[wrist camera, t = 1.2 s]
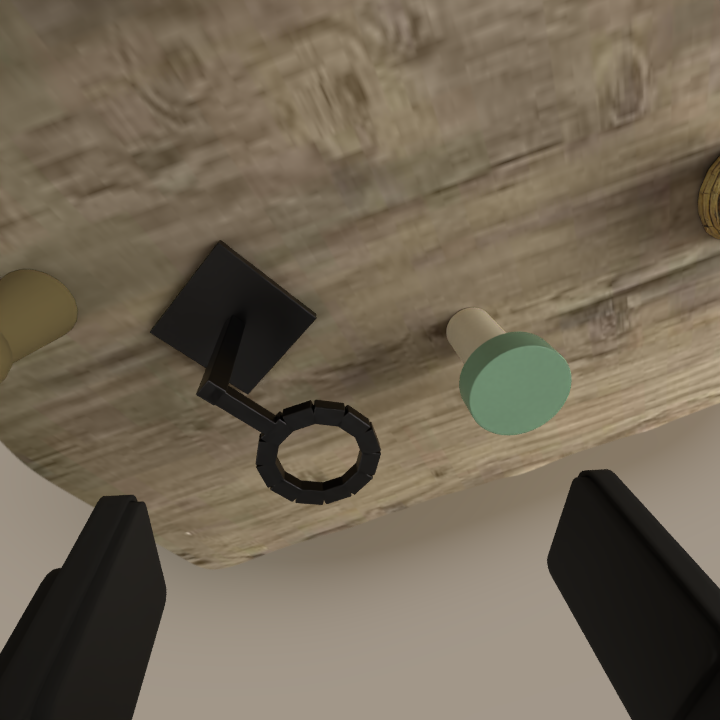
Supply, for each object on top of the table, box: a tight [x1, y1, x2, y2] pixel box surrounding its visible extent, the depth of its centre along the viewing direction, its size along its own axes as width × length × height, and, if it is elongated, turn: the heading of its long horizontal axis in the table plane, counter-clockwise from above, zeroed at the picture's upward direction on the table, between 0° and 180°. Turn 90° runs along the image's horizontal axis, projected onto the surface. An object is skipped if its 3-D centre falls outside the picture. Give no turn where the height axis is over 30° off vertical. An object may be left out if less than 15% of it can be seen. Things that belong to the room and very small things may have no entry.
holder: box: [150, 240, 381, 505], centre depth 35 cm, size 10×18×12 cm, turn 48°
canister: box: [446, 307, 571, 435], centre depth 37 cm, size 8×8×11 cm
